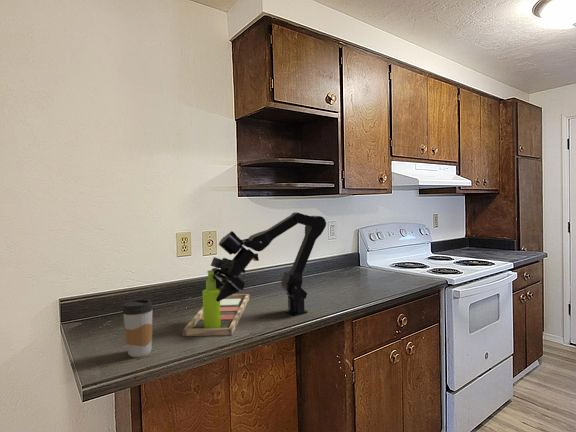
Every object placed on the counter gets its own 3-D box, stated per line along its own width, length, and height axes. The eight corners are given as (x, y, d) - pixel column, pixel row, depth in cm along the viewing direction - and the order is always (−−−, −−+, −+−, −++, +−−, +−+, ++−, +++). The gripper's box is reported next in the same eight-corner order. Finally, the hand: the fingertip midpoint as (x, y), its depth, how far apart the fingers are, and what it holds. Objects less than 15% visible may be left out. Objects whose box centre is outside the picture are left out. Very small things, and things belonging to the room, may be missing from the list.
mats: (234, 319, 133) (234, 319, 133) (200, 320, 133) (200, 319, 133) (240, 307, 148) (240, 307, 148) (210, 308, 148) (210, 307, 148)
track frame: (231, 335, 118) (231, 329, 118) (182, 335, 118) (182, 330, 118) (249, 298, 162) (249, 293, 161) (213, 299, 162) (213, 294, 162)
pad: (237, 305, 151) (237, 304, 151) (216, 305, 151) (216, 304, 151) (241, 299, 160) (241, 298, 160) (220, 299, 160) (220, 299, 160)
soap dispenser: (204, 332, 121) (202, 273, 120) (203, 325, 128) (201, 269, 127) (221, 330, 123) (219, 272, 122) (220, 323, 129) (218, 268, 128)
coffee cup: (145, 344, 111) (143, 297, 111) (160, 351, 106) (158, 301, 105) (119, 354, 105) (116, 303, 104) (133, 361, 100) (130, 308, 99)
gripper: (214, 246, 135) (186, 279, 129) (236, 251, 119) (205, 289, 114) (234, 264, 140) (207, 297, 134) (257, 272, 124) (228, 309, 118)
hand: (211, 298), depth 125 cm, fingers open, 9 cm apart
